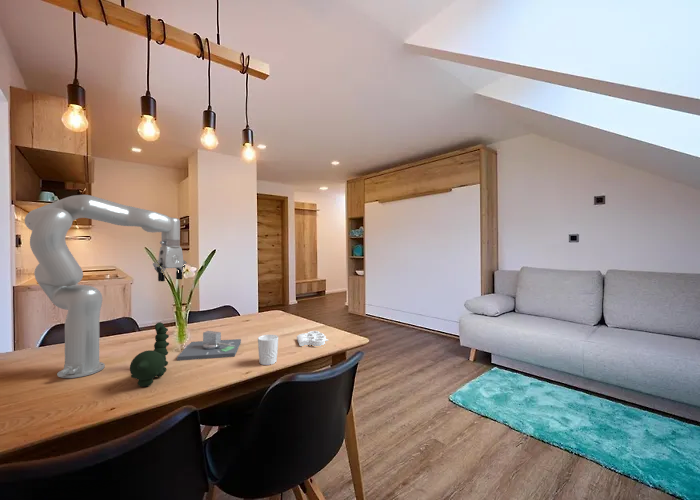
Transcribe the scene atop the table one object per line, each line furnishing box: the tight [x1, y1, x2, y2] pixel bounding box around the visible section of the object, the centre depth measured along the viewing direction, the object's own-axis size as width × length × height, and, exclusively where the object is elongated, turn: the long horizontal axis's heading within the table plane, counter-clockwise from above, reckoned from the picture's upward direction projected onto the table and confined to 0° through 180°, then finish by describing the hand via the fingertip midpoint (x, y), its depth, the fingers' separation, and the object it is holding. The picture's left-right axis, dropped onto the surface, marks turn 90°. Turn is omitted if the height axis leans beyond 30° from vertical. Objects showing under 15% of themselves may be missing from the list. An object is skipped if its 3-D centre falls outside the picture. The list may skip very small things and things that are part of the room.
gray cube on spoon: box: [202, 330, 231, 350], centre depth 133 cm, size 7×14×6 cm, turn 72°
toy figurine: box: [129, 321, 170, 388], centre depth 106 cm, size 9×19×25 cm
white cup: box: [257, 334, 279, 366], centre depth 121 cm, size 8×8×10 cm
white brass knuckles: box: [296, 330, 329, 347], centre depth 148 cm, size 3×18×15 cm
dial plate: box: [176, 338, 242, 361], centre depth 134 cm, size 20×22×2 cm
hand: (170, 280), depth 142 cm, fingers open, 9 cm apart
